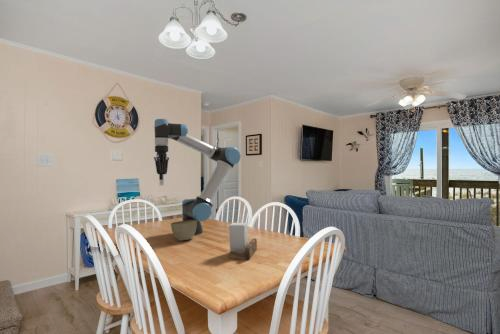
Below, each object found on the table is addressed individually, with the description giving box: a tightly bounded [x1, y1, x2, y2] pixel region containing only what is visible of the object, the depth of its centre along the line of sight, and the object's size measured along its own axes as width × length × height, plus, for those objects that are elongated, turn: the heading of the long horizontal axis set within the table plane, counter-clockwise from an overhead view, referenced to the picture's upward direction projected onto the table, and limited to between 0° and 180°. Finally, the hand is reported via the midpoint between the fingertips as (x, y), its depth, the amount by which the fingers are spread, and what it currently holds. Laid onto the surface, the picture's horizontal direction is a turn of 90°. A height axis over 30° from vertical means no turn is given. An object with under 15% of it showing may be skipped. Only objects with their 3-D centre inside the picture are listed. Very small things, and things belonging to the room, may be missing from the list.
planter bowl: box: [170, 220, 197, 242], centre depth 171 cm, size 16×16×11 cm
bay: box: [228, 238, 258, 261], centre depth 142 cm, size 16×10×6 cm, turn 166°
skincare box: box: [228, 222, 249, 252], centre depth 142 cm, size 8×7×16 cm
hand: (162, 185), depth 164 cm, fingers closed
